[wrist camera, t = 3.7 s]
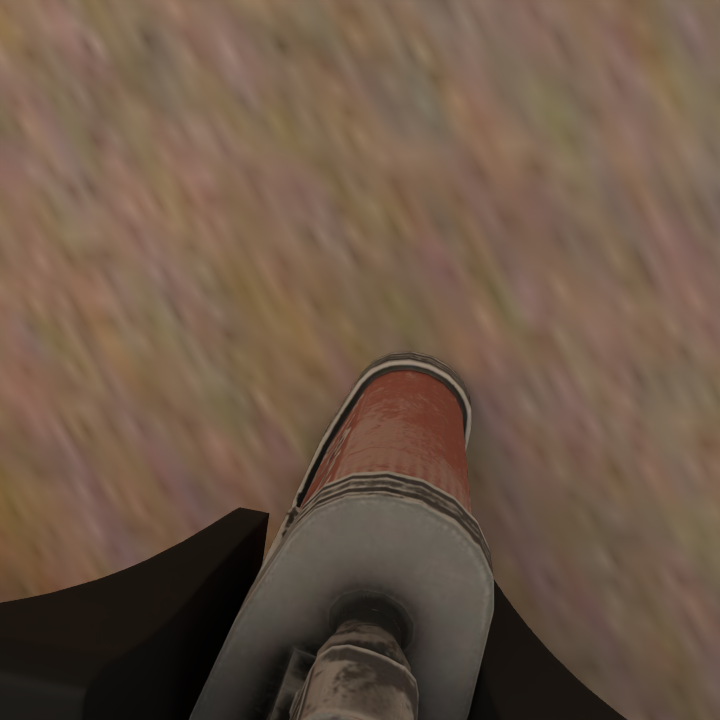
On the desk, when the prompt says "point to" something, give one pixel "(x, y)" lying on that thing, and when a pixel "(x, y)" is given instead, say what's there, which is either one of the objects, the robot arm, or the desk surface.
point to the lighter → (369, 568)
